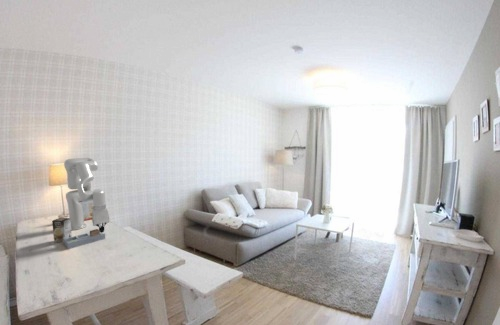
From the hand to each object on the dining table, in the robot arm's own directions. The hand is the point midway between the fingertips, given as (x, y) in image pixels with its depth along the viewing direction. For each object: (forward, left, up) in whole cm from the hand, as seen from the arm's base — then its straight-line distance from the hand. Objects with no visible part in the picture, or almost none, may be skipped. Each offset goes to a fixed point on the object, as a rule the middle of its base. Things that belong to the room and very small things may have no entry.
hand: (101, 231), depth 176 cm
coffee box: (-17, -20, -5) cm, 27 cm away
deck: (-4, -10, -4) cm, 12 cm away
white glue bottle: (-63, +6, -5) cm, 64 cm away
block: (-1, -5, -1) cm, 5 cm away
